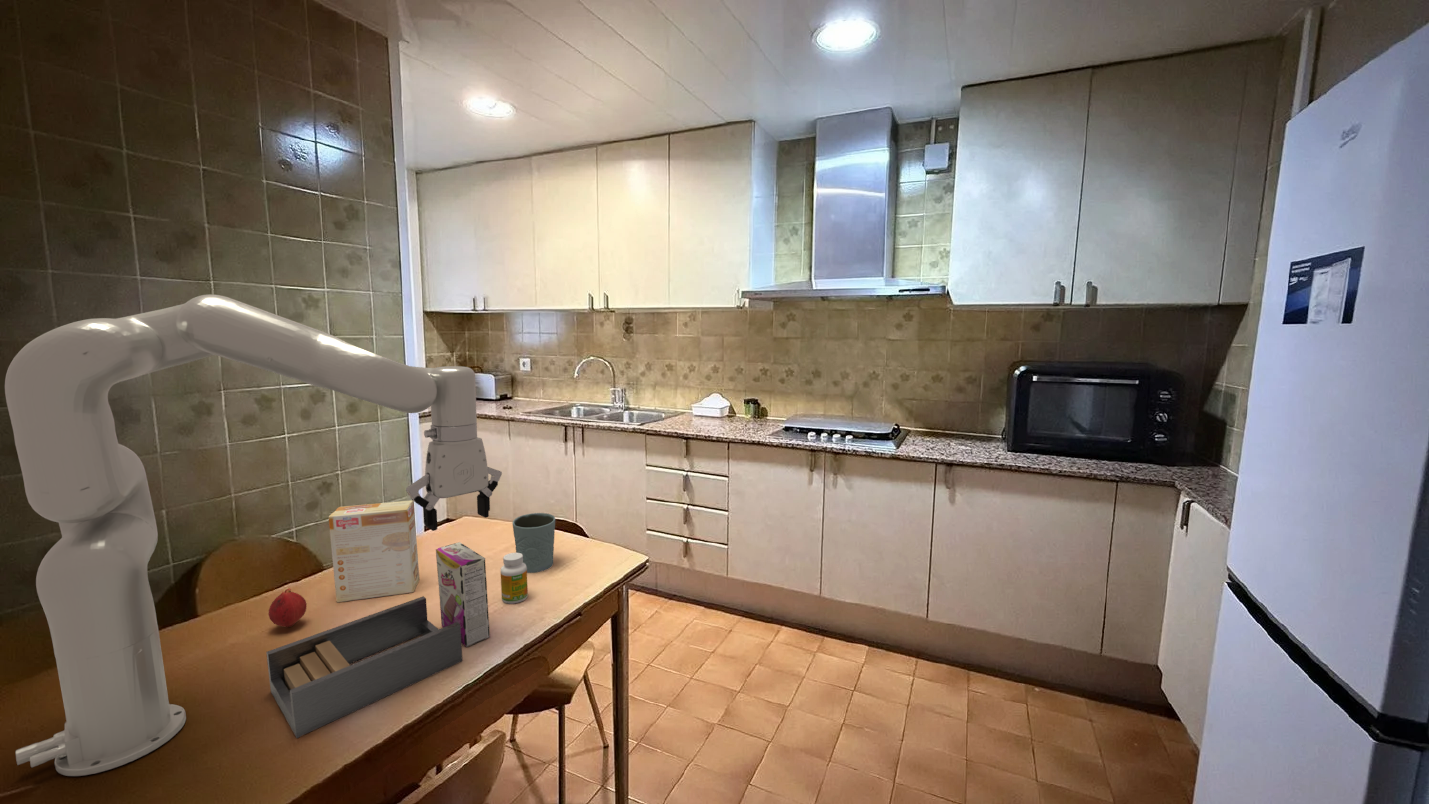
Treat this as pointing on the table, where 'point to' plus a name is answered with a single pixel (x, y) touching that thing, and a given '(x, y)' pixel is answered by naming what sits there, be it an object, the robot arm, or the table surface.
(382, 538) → the coffeecake box
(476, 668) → the table surface
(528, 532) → the grey green cup
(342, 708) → the rack
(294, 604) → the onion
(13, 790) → the table surface
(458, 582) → the candy bar box
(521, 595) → the supplement bottle
